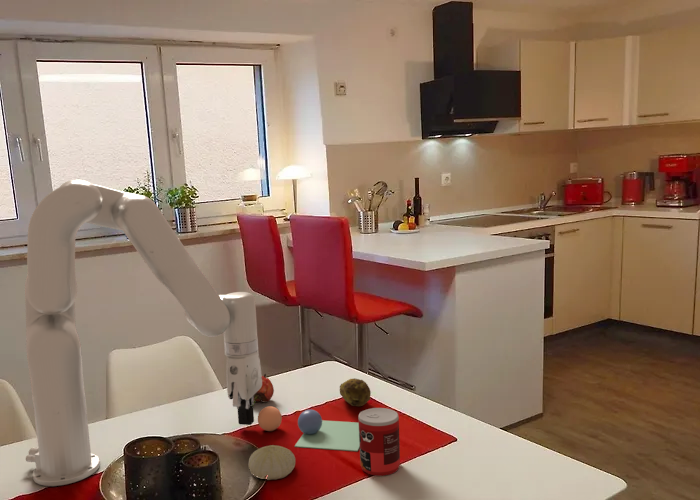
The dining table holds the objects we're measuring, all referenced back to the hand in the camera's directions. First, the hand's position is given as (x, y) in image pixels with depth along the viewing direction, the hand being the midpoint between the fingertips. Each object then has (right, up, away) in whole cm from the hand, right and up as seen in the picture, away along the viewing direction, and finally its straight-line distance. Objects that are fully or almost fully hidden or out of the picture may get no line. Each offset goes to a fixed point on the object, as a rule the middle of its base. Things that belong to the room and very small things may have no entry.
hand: (246, 423), depth 147 cm
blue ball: (+15, +1, -4) cm, 16 cm away
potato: (+25, +1, +11) cm, 28 cm away
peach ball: (+6, +1, -1) cm, 6 cm away
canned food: (+30, -4, -20) cm, 36 cm away
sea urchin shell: (+8, -5, -20) cm, 22 cm away
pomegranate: (+1, +1, +16) cm, 16 cm away
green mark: (+20, -1, -5) cm, 21 cm away
